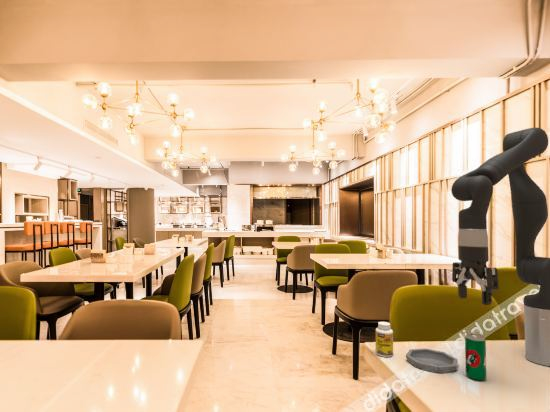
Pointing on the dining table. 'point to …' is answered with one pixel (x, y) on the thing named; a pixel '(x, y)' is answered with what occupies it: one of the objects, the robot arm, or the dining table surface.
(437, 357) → the dish
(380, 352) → the supplement bottle
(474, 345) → the soda can
